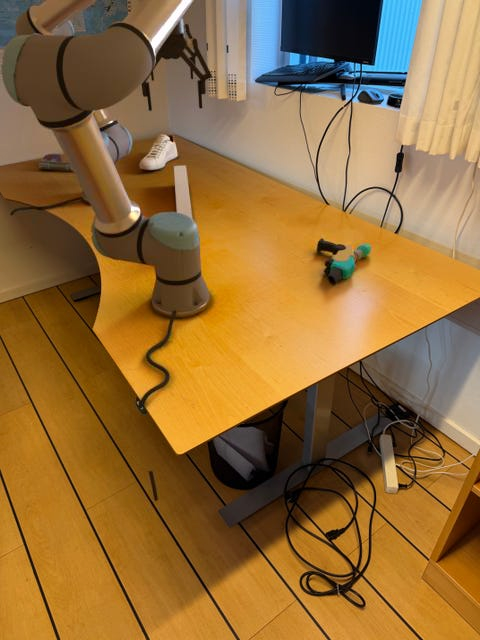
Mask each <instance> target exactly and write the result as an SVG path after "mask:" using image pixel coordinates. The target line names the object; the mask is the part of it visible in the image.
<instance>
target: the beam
mask: <svg viewBox="0 0 480 640" xmlns="http://www.w3.org/2000/svg"><path fill="white" fill-rule="evenodd" d="M173 174H174V176H173V177H174V189H175V191H174V192H175V208H176V212H177V213H181V214H184V215H187V216H189V217H190V218H192V219H193V212H192V204H191V196H190V189H189V180H188V179H189V178H188V172H187V165H186V164H185V165H174V166H173Z"/></svg>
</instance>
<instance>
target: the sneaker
mask: <svg viewBox="0 0 480 640" xmlns="http://www.w3.org/2000/svg"><path fill="white" fill-rule="evenodd" d="M178 156H179V155H178V149H177V144H176V140H175V136H174V135H173V134H164V133H161V134H158V135H157V137H156V139H155V140H154V142H153V143H152V146H151V148H150V150H149V151H148V153H147V154H146V155H145V156H144V157H143V158H142V159H141V160H140V162H139V169H141V170H144V171H156V170H160V169H162V168H164V167H165V166H166V164H167V163H168V162H170V161H172V160H175V159H176V158H177V157H178Z"/></svg>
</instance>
